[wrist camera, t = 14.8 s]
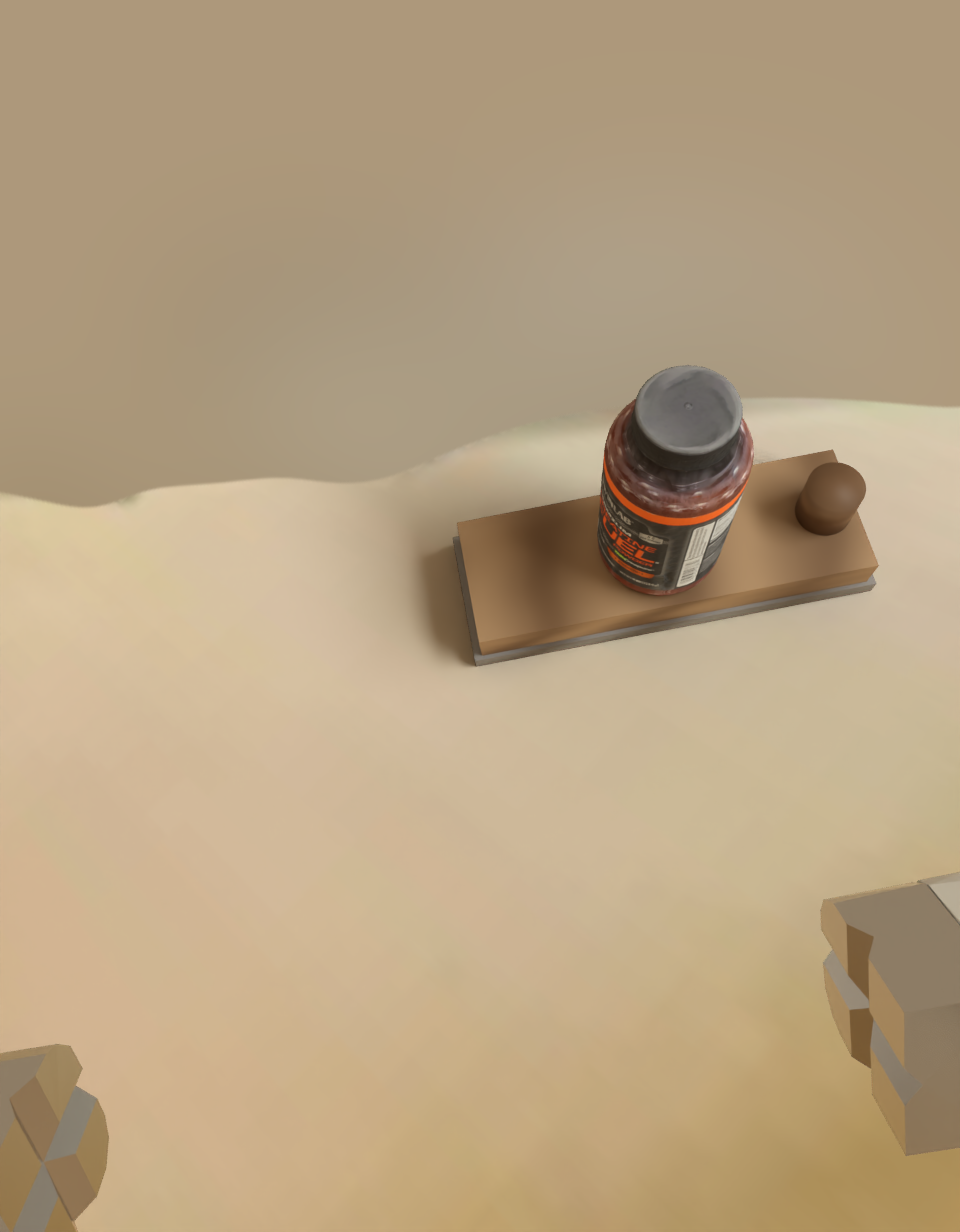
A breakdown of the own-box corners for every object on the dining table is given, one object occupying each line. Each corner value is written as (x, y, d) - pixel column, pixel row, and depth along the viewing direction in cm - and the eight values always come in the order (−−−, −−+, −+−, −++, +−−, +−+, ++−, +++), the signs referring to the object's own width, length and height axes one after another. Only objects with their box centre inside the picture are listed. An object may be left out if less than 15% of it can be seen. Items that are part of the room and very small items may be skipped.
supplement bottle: (570, 549, 44) (572, 411, 33) (650, 470, 45) (676, 314, 34) (665, 625, 42) (699, 504, 31) (745, 540, 43) (804, 398, 33)
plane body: (476, 666, 44) (466, 629, 40) (454, 544, 47) (442, 496, 43) (870, 590, 44) (906, 544, 40) (825, 472, 47) (853, 416, 42)
